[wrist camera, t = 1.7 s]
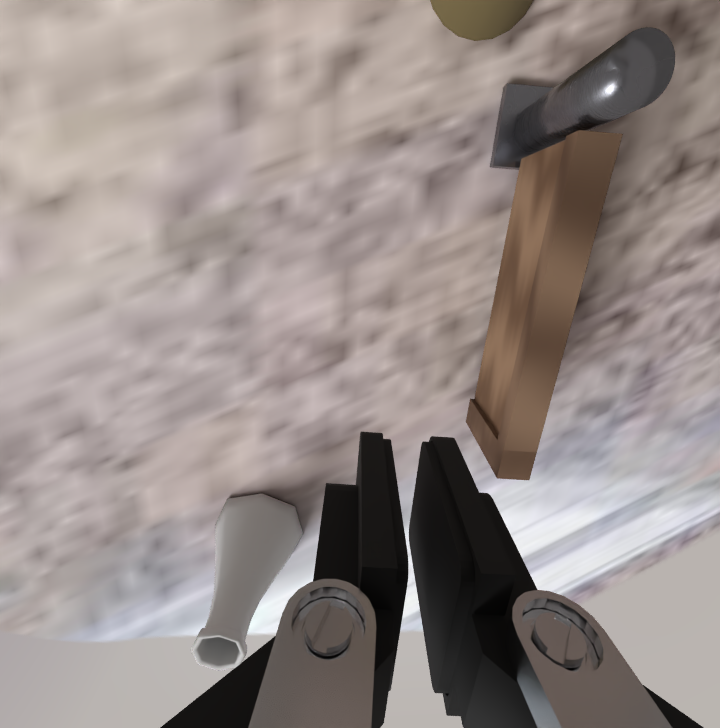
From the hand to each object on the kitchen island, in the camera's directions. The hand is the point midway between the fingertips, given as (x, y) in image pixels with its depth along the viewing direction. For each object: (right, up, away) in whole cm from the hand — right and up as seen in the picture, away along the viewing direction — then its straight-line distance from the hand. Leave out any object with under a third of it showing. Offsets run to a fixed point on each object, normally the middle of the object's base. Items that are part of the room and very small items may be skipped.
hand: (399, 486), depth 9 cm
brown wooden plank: (+8, +7, +15) cm, 18 cm away
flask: (-9, -10, +22) cm, 26 cm away
